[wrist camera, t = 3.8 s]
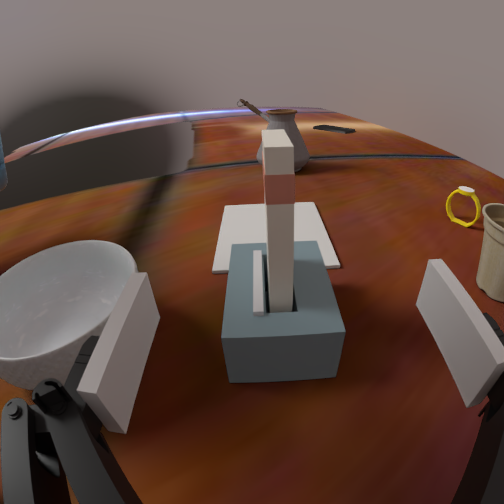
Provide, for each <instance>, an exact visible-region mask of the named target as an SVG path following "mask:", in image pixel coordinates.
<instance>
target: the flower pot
mask: <svg viewBox="0 0 504 504" xmlns="http://www.w3.org/2000/svg"><path fill="white" fill-rule="evenodd" d="M482 213H483V215H484V228H485V230H484V237H483V244H482V251H481V257H480V262H479V268H478V273H477V277H476V281H477V284H478V286H479V288H480V289H483V290H484V291H485V292H486V293H487V295H488V296H489V297H490V298H492V299H494V300H497V301H500V302H504V204H499V203H498V204H497V203H490V204H486V205H484V207H483V210H482Z"/></svg>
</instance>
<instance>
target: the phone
mask: <svg viewBox="0 0 504 504" xmlns="http://www.w3.org/2000/svg"><path fill="white" fill-rule="evenodd" d="M313 129H319V130H326V131H332V132H339V133H346V134H347V133H352V132H355V129H349V128H342V127H336V126H329V125H319V126H314V127H313Z"/></svg>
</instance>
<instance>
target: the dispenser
mask: <svg viewBox="0 0 504 504" xmlns="http://www.w3.org/2000/svg"><path fill="white" fill-rule="evenodd" d="M345 332H346V331H345V328H344V324H343V321H342V318H341V314H340V311H339V308H338V304H337V301H336V298H335V295H334V292H333V288H332V285H331V282H330V279H329V276H328V273H327V270H326V267H325V264H324V261H323V258H322V255H321V252H320V249H319V246H318V243H317V241H294V268H293V307H292V312H280V313H269V301H268V273H267V244H266V243H246V244H232V247H231V255H230V263H229V272H228V281H227V289H226V298H225V307H224V316H223V325H222V335H221V340H222V346H223V351H224V357H225V362H226V368H227V373H228V378H229V383H249V382H277V381H294V380H308V379H320V378H331V377H336V374H337V370H338V365H339V361H340V356H341V352H342V347H343V342H344V337H345Z"/></svg>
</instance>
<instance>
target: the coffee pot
mask: <svg viewBox="0 0 504 504" xmlns="http://www.w3.org/2000/svg"><path fill="white" fill-rule="evenodd" d="M240 101H241V102H242V103H244V106H247V107H248V108H249V109H250V110H251V111H253V112H255V113H256V114H258V115H259V116H261V117H262V118H264V119H265V120H266V121H268V122H269V124H268V127H267V129H266V130H276V129H284V130H285V132H286V134H287V136H288V137H289V139H290V141H291V143H292V144H293V146H294V172H296V171H299V170H300V169H301V167H303V166H304V165H305V164H306V163H307V162H308V160H309V158H310V155H309V153H308V150H307V148H306V146H305V143H304V141H303V139H302V136H301V134H300V132H299V130H298V128H297V125H296V123H295V121H294V118H295V113H297V110H292V109H276V110H268V111H266V112H267V113H268V114H269V118H268V117H267V116H266V115H264V114H263V113H262V112H261V111H259V110H258V109H257V108H256V107H254V106H253V105H251V104H249V103H248V102H247V101H246V102H245V101H244V100H242V99H240ZM238 102H239V101H238ZM238 102H237V104H238ZM242 106H243V105H242ZM240 107H241V106H240ZM262 151H263V148H262V143H261V145H260V148H259V150H258V153H257V160H258V162H259V163H260V164H261V165H262V166H263V163H262Z"/></svg>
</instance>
